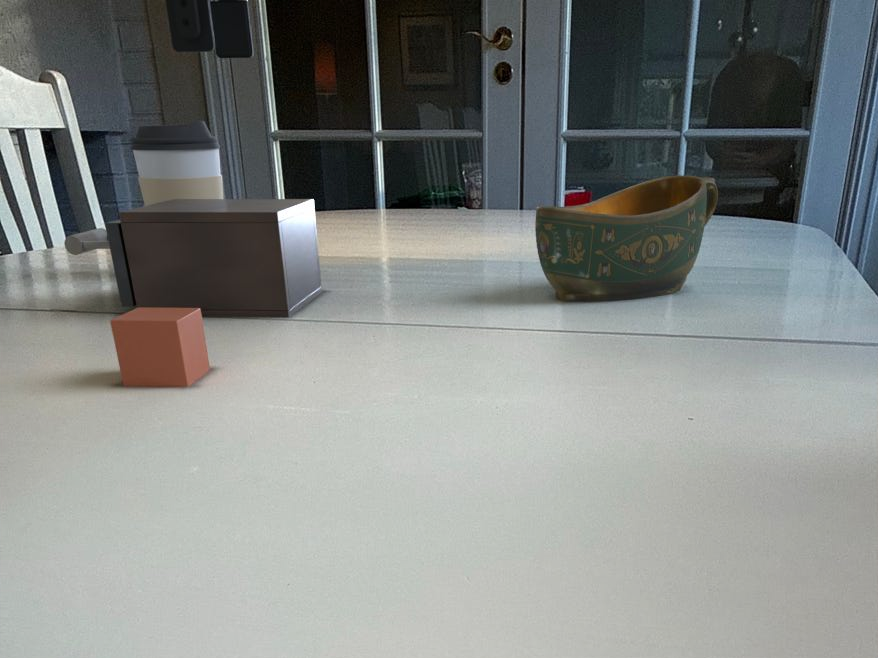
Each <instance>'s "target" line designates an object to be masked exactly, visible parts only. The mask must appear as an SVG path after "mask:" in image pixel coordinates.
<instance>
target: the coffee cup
mask: <svg viewBox="0 0 878 658" xmlns="http://www.w3.org/2000/svg"><path fill="white" fill-rule="evenodd" d="M130 141H131V146H130V151H132V152H133V156H134V160H135V164H136V168H137V173H138V176H137V180H138V184H139V188H140V192H141V196H142V200H143V204H144V206H147V205H152V204H156V203H160V202H165V201H169V200H173V199H224V185H223V184H224V183H223V175H222V174H221V160H220V149H221V146H220V144H219V143H218V137H217V136H215V135H214V136H213V135H212V134H211V132H210V130H209V128H208V127H207V124H206V123H205V121H204V120H194V121H192V122H190V124H163V125H162V124H161V125H160V124H159V125H157V124H156V125H139V126H138V129H137V133H136V136H135V137H131V140H130Z"/></svg>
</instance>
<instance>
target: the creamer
mask: <svg viewBox="0 0 878 658" xmlns="http://www.w3.org/2000/svg"><path fill="white" fill-rule="evenodd" d="M715 182H716V179H715V178H713V177H707V176H701V177H699V176H696V175H680V174H678V175H667V176H663V177H662V176H661V177H658V178H657V177H656V178H653V179H649V180H646V181H641V182H639V183H637V184H634V185H632V186H628V187H626V188H624V189H621V190H618V191H616V192H613V193H610V194H607V195H605V196H603V197H601V198H599V199H596V200H593V201H590V202H587V203H583V204H576V205H566V206H555V205H554V206H553V205H552V206H549V205H546V206H545V205H537V206H536V208H535V227H534V231H535V242H536V249H537V255H538V260H539V263H540V267H541V269H542V271H543V274H544V276H545V278H546V280H547V281H548V283H549V284H550V285H551V287H552V289H554V291H555V298H556V299H557V300H560V301H565V302H566V301H567V302H573V303H574V302H575V303H577V302H578V303H598V302H599V303H600V302H601V303H603V302H617V301H618V302H619V301H620V302H621V301H632V300H642V299H650V298H656V297H657V298H658V297H663V296H669V295H674V294H675V293H678V292H680V291H681V290H682V287H683V286H684V285H685V283H686V281H687V277H688V275H689V274H690V273H691V271H692V270H693V268H694V265H695V263H696V260H697V258H698V255H699V253H700V248H701V244H702V241H703V236H704V231H705V227H706V226H707V224H708V222H709V221H710V220H711V219H712V217H713V214H714V212H715V210H716V207H717V204H718V201H719V200H718V198H719V191H718V187H717V184H716V183H715Z"/></svg>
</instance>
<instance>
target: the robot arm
mask: <svg viewBox="0 0 878 658" xmlns="http://www.w3.org/2000/svg"><path fill="white" fill-rule="evenodd" d="M165 6H166V11H167V12H166V13H167V18H168V19H167V20H168V26H169V33H170V39H171V44H172V49H173V50H174V51H175V52H177V53H212V52H214V51H215V55H216V56H217V58H219V59H251V58H253V57H254V56H255V50H254V41H253V30H252V22H251V14H250V13H251V12H250V5H249V0H165Z"/></svg>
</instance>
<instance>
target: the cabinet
mask: <svg viewBox="0 0 878 658" xmlns="http://www.w3.org/2000/svg"><path fill="white" fill-rule="evenodd" d="M118 215H119V219H120V221H121V226H122V232H123V237H124V242H125V247H126V252H127V258H128V263H129V268H130V273H131V279H132V284H133V289H134V294H135V299H136V308H138V307H144V308H200V309H201V314H202V318H203V317H205V318H206V317H208V318H210V317H212V318H213V317H214V318H225V317H226V318H290V317H292V316H293V315H295V313H297V312H298V311H300V310H301V309H302V308H303V307H305V306H306V305H307V304H308V303H310V302H312V301H313V300H314V299H316V298H317V297H318V296H319V295H321V294H322V293H323V286H322V277H321V276H322V275H321V266H320V252H319V243H318V233H317V221H316V209H315V200H314V198H223V199H173V200H169V201H165V202H160V203H156V204H152V205H147V206H145V205H143V206H140V207H135V208H130V209H125V210H121V211H119V212H118Z"/></svg>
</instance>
